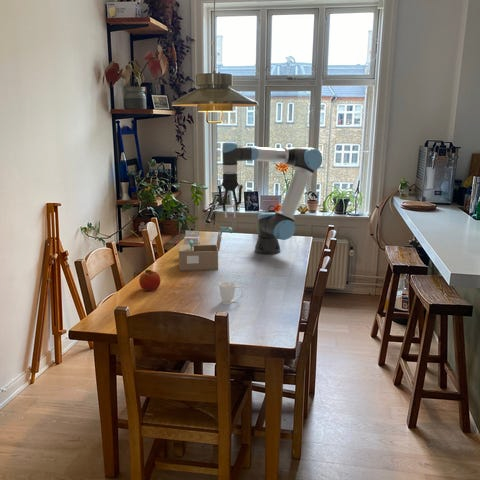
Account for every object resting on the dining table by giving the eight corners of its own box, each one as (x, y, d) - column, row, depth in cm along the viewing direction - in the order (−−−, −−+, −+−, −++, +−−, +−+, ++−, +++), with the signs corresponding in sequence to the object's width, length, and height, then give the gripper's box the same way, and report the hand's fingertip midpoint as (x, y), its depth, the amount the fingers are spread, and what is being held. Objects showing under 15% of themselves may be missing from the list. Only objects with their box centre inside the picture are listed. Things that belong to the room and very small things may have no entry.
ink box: (183, 257, 265) (183, 232, 261) (185, 255, 269) (184, 230, 266) (198, 258, 264) (198, 232, 260) (200, 255, 269) (199, 230, 265)
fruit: (164, 286, 217) (163, 266, 214) (156, 293, 208) (155, 272, 205) (144, 285, 219) (143, 265, 216) (136, 292, 210) (135, 271, 207)
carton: (216, 262, 256) (216, 244, 253) (218, 269, 242) (218, 251, 240) (179, 263, 253) (179, 245, 251) (179, 271, 240) (178, 252, 237)
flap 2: (216, 244, 253) (228, 246, 254) (218, 250, 240) (231, 252, 241) (219, 225, 251) (231, 227, 252) (221, 231, 238) (234, 232, 239)
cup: (219, 299, 201) (219, 281, 199) (242, 299, 201) (242, 281, 199) (218, 305, 195) (218, 286, 193) (242, 305, 194) (242, 286, 192)
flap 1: (179, 252, 237) (178, 243, 236) (179, 245, 251) (178, 237, 249) (193, 252, 238) (193, 242, 237) (193, 245, 251) (193, 236, 250)
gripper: (245, 172, 246) (245, 215, 251) (213, 172, 244) (213, 216, 249) (247, 173, 239) (247, 218, 244) (214, 173, 237) (214, 219, 242)
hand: (230, 217), depth 247 cm, fingers open, 4 cm apart
